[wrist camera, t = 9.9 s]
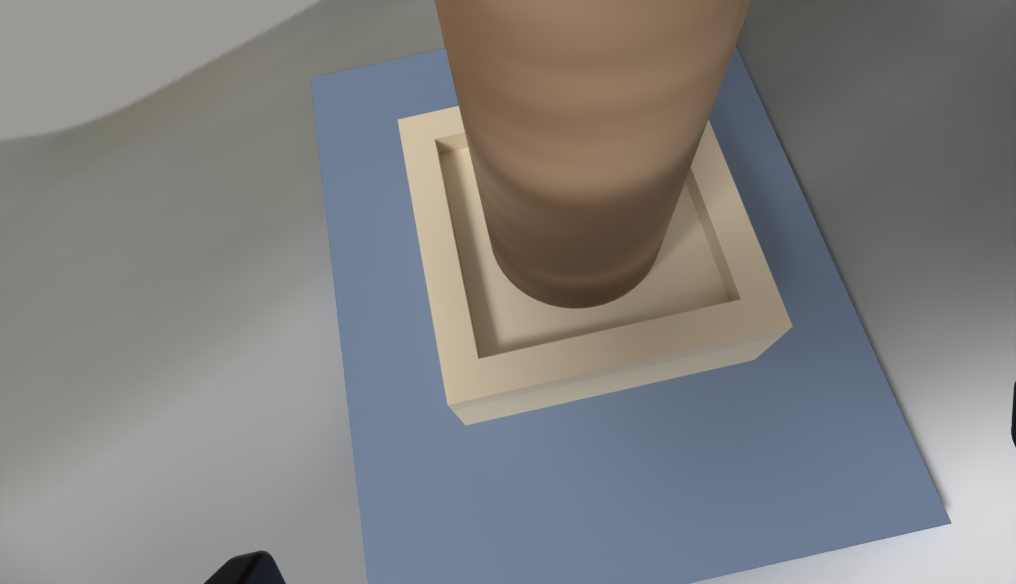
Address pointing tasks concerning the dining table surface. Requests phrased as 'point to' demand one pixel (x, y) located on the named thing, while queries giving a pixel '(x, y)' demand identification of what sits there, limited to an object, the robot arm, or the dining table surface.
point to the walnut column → (584, 129)
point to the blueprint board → (598, 367)
